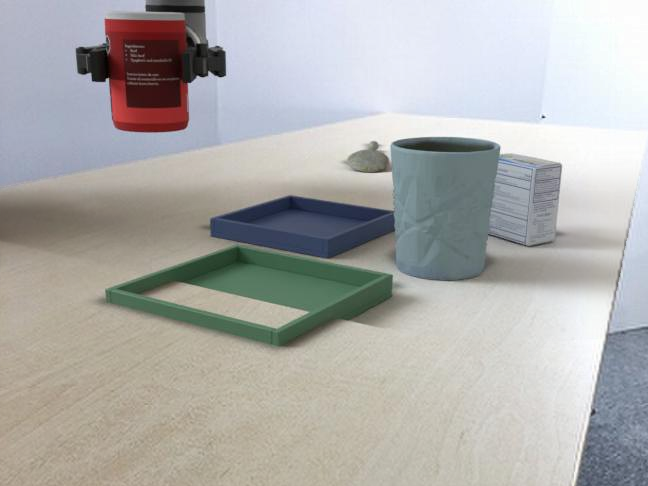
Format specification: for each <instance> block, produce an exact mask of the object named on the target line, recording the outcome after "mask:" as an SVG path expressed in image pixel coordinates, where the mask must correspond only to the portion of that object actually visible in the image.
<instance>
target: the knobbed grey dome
mask: <svg viewBox="0 0 648 486" xmlns="http://www.w3.org/2000/svg"><path fill="white" fill-rule="evenodd" d="M379 146H380V144H379V142H378V141H377V140H371V141H370V142H369V143H368V147H367V149H361V150H357V151H355V152H352V153H351V154H350V155H348V157H347V161H346V163H347V165H348V166H349V167H351V169H354V170H356V171H359V172H362V173H377V172H380V171H383V170H385V169H386V168H387V167H388V165H389V164H390V159H389V158H390V157H388V155H386V154H385V153H384V152H382V151H380V150H378V149H379Z"/></svg>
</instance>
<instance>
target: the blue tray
mask: <svg viewBox="0 0 648 486" xmlns="http://www.w3.org/2000/svg"><path fill="white" fill-rule="evenodd" d="M394 212H395V211H394V210H390V209H384V208H378V207H372V206H371V207H370V206H363V205H357V204H350V203H345V202H337V201H331V200H324V199H319V198H313V197H312V198H311V197H305V196H300V195H299V196H298V195H292V194H288V195H285V196H282V197H278V198H274V199H272V200H268V201H264V202H261V203H258V204H255V205H251V206H247V207H244V208H241V209H236V210H233V211H230V212H227V213H223V214H220V215H217V216H212V217H210V218H209V227H210V228H209V229H210V237H214V238H220V239H225V240H230V241H236V242H241V243H245V244H250V245H256V246H260V247H266V248H272V249H277V250H283V251H287V252H292V253H297V254H303V255H309V256H314V257H318V258H324V259H330V258H332V257H334V256H337V255H339V254H341V253H344V252H346V251H349V250H352V249H354V248H356V247H358V246H361V245H363V244H366V243H368V242H371V241H373V240H376V239H377V238H379V237H382V236H385V235H387V234H390V233H392V232H395V226H394V224H395V218H394Z"/></svg>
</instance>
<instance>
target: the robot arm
mask: <svg viewBox="0 0 648 486" xmlns="http://www.w3.org/2000/svg"><path fill="white" fill-rule="evenodd" d="M205 5H206V3H205V0H145V5H144V6H145V7H144V8H145V12H173V13H183V14H184V17H185V26H186V46H187V50H186V51H184V52H183V53H182V76H183V83H188V84H192V83H193V82H194V81H195V80H196V79H197V77H199V78H203V79H204V78H208V77H209V73H211V74H212V75H213V76H214V77H217V78H224V77H227V52H226V50H224V47H223V46H220V45H214V46H211V47H209V46H210V45H209V40H208V38H207V23H206V21H207V19H206V6H205ZM75 58H76V59H75V61H76V71H77V73H76V74H78V75H81V76H86V75H87V74H90V77H91V82H93V83H106V82H107V79H109V75H108V62H107V49H106V42H102V43H101V44H98V45H91V46H78V47H76V48H75Z"/></svg>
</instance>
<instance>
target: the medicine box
mask: <svg viewBox="0 0 648 486" xmlns="http://www.w3.org/2000/svg"><path fill="white" fill-rule="evenodd" d="M562 172H563V164H562V163H561V162H557V161H553V160H548V159H544V158H538V157H533V156H528V155H523V154H518V153H512V152H511V153H509V152H508V153H507V152H506V153H500V155H499V162H498V168H497V175H496V178H495V180H494V183H495V190H494V198H493V199H492V208H491V216H490V222H489V224H490V226H489V229H488V235H491V236H494V237H497V238H501V239H504V240H507V241H510V242H513V243H516V244H519V245H524V246H527V247H531V246H537V245H543V244H548V243H552V242H553V241H555V240H556V233H557V223H558V214H559V213H558V211H559V203H560V193H561V192H560V191H561V183H562V174H563V173H562Z"/></svg>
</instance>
